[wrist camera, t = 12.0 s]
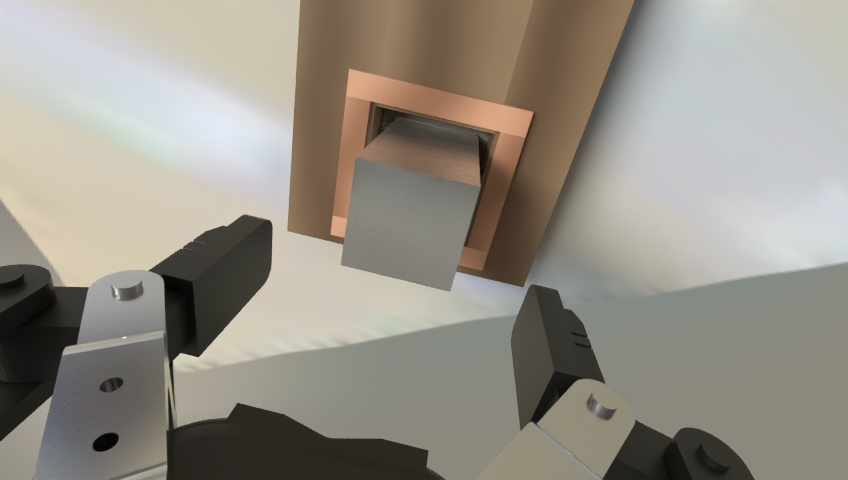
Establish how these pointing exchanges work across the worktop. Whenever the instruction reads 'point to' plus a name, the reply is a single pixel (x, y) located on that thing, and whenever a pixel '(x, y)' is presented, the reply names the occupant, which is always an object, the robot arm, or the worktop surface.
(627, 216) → the worktop surface
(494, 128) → the socket board
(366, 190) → the steel peg
